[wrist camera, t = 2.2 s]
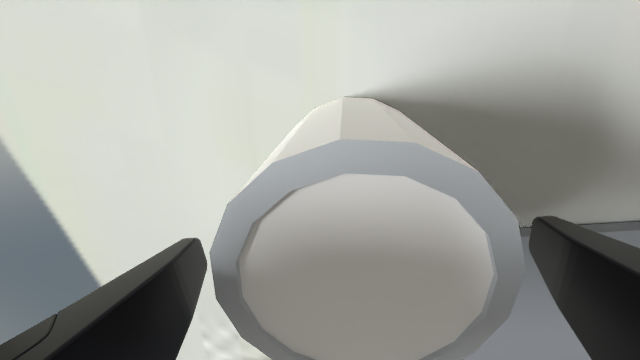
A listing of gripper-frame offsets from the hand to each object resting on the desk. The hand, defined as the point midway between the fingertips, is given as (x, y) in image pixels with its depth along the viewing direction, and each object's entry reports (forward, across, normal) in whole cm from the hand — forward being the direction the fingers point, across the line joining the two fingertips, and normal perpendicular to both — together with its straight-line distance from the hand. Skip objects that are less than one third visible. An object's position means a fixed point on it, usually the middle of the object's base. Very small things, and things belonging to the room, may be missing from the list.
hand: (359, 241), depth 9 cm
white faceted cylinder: (+5, 0, 0) cm, 5 cm away
